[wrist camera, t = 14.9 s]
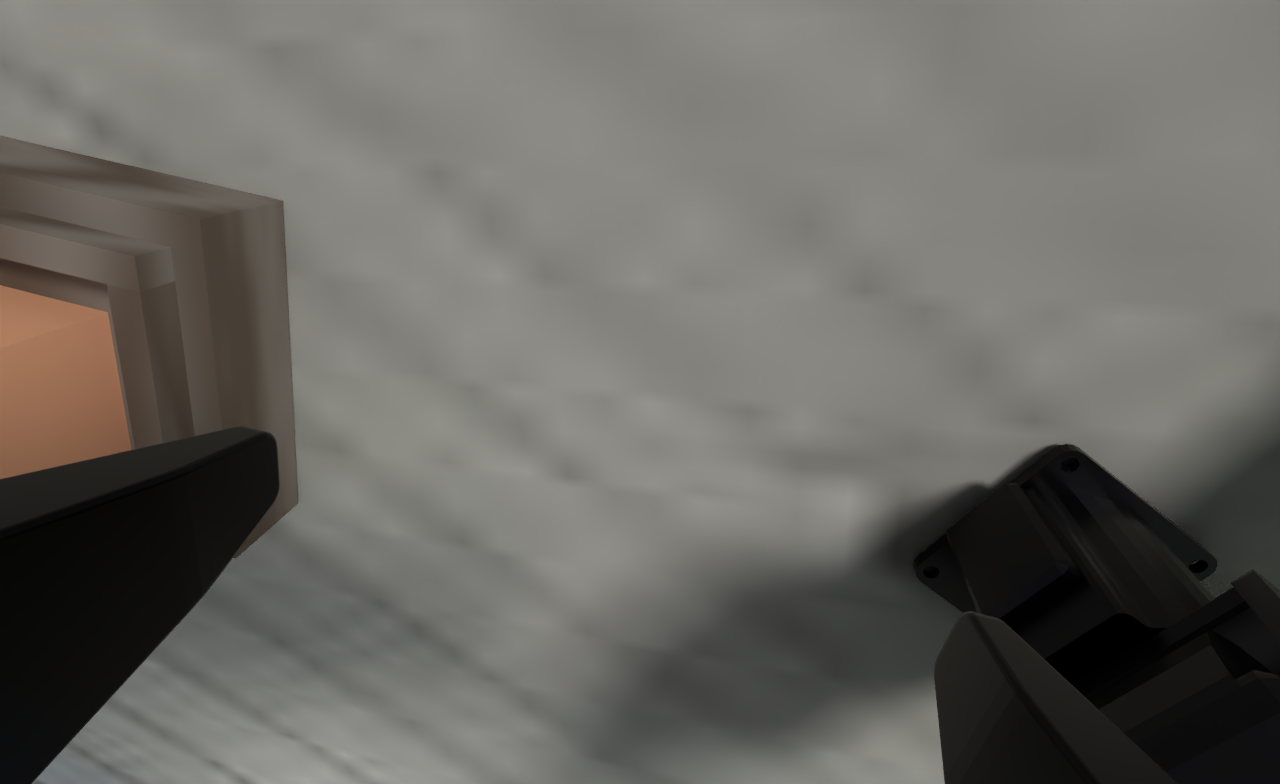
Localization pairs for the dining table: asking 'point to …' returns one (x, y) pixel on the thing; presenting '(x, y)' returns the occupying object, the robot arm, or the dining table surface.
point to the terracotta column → (56, 384)
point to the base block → (163, 291)
